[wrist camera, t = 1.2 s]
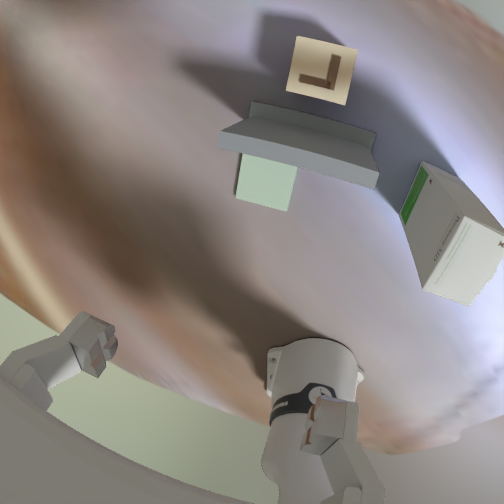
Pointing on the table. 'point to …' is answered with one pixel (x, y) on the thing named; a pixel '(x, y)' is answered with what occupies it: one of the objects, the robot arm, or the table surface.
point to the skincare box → (450, 235)
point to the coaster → (266, 182)
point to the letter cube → (321, 70)
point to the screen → (304, 143)
